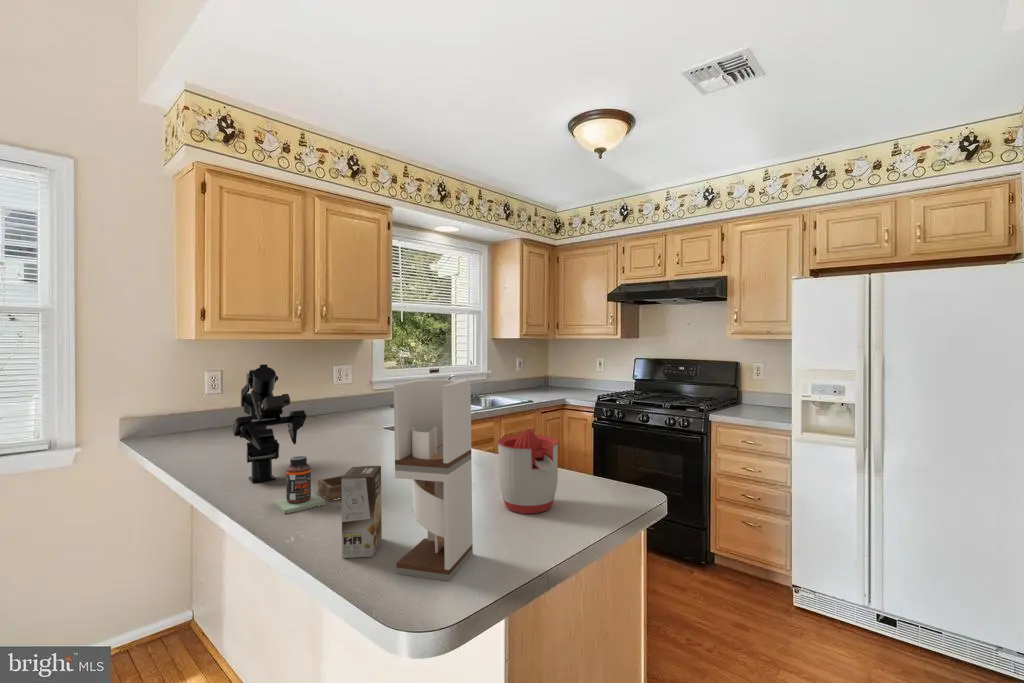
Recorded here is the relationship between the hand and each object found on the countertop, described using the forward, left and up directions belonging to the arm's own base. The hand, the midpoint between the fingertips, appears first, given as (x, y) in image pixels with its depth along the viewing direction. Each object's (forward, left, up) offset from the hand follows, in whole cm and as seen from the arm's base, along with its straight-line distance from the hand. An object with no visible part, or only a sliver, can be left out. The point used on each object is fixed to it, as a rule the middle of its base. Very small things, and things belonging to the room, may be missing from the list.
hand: (278, 446), depth 137 cm
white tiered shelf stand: (+66, +12, -14) cm, 68 cm away
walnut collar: (+11, +14, -14) cm, 22 cm away
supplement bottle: (+12, +2, -13) cm, 18 cm away
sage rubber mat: (+13, +2, -14) cm, 19 cm away
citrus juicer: (+55, +46, -14) cm, 73 cm away
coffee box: (+50, +4, -14) cm, 52 cm away
